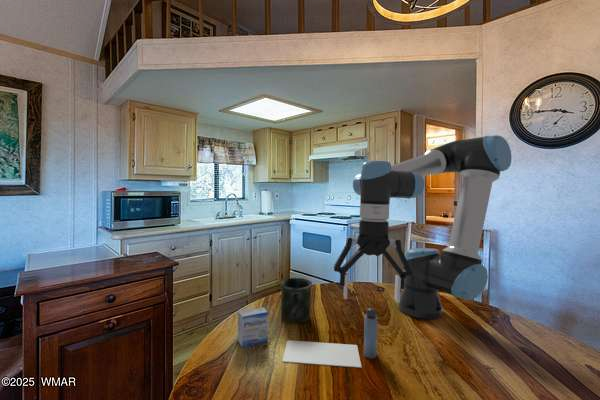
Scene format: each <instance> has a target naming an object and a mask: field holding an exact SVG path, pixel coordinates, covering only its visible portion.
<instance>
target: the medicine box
mask: <svg viewBox="0 0 600 400" xmlns="http://www.w3.org/2000/svg"><path fill="white" fill-rule="evenodd" d="M268 340H269V311H267V309H266V308H265V307H264V306H262V307H257V308H251V309H246V310H240V311H237V341H238V343H239V345H240V346H241V348H245V347H249V346H253V345H257V344H261V343H264V342H268Z"/></svg>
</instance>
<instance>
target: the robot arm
mask: <svg viewBox="0 0 600 400" xmlns="http://www.w3.org/2000/svg"><path fill="white" fill-rule="evenodd" d="M511 164H512V151H511V147H510V145H509V142H508V141H507V140H506V139H505V138H504V137H503V136H501V135H499V134H497V135H484V136H481V137H472V138H466V139H457V140H452V141H450V142H447V143H445V144H442V145H439V146H437V147H433V148H431V149H428V150H427V151H426V152H425V153H424V154H422V155H419V156H415V157H413V158H411V159H410V158H409V159H407V160H404V161H401V162H398V163H396V164H392V163H391V162H390V161H386V160H369V161H368V160H367V161H365V162H363V163H362V166H361V173H358V174H356V176H354V178H353V180H352V188H353V191H354V192H355V194H356V195H359V196H360V199H359V201H360V203H359V218H360V220H359V223H358V224H359V227H358V237H351V236H347V237H346V242H345V245H344V247H343V249H342V251H341V253H340V255H339V256H338V258H337V260H336V261H335V263H334V264H333V271H334V272H337V273H339V284H340V286H342V287H343V300H348V286H349V285H348V283H349V282H348V281H349V273H348V271H349V270H350V269H351V268H352V267H353V266H354V264H355V263H356V262H357V261H358V260H359V259H360V258H362V256H364V254H365V255H367V256H373V255H374V256H377V257H379V256H381V255H383V256H384V257H385V259H386V260H387V261H388V263H389V264H390V265H391V266H392V268H393V269H394V270H395V271H396V272H397V274H394V275H395V276H394V278H395V279H394V297H393V298H394V300H395V302H396V303H397V309H399V311H400V312H401V313H403V314H405V315H407V316H410V317H412V318H417V319H423V320H437V319H439V317H440V318H441V317H442V316H443V306H442V303H441V300H440V295H439V291H441V292H442V293H443V292H444V293H447V294H449V295H450V296H453V297H454V298H455V297H456V298H460V299H464V300H474V299H476V298H478V297H479V295H481V294H482V292H484V290H485V288H486V286H487V282H488V279H489V274H488V270H487V268H486V266H484V265H483V258H482V257H481V256H480V254H479V250H480V244H481V240H482V235H483V230H484V226H485V221H486V217H487V216H486V215H487V212H488V211H487V210H488V205H489V202H490V196H491V191H492V187H493V183H494V182H496V181H498V180H499V178H500V174H501V172H505V171H507V170H508V169H509V168H510V167H511ZM444 173H458V174H459V176H460V177H461V178H462V182H461V186H460V190H459V196H458V200H457V205H456V210H455V214H454V219H453V224H452V228H451V232H450V237H449V243H448V246H447V247H445V248H443V249H442V251H441V252H440V250H439V249H437V248H430V247H429V248H427V247H417V248H414V247H413V248H409V249H407V250H406V251H405V253H404V251H403V249H402V242H401V240H400V239H399V238H394V239H389V228H390V227H389V226H390V225H389V224H390V222H389V218H390V203H391V202H390V201H391V198H393V199H394V198H395V199H415V198H418V197H420V196H421V195H422V194H423V192H424V189H425V180H424V178H425V177H428V176H430V175H433V176H435V175H436V176H437V175H441V174H444ZM387 220H388V221H387ZM356 243H357V245H358V246H359V248H357V249H356V251H355V252H354V253H353V254H352V256H351V257H350V258H349V259H348V260H346V257H347V256H348V254H349V252H350V250H351V248H352V247H353V246H355V244H356ZM390 245H391V247H392V248H394V249H395V252H396V254H397V256H398V259H399V261H400V263H401V265H402V267H403V269H402V268H401V267H400V266H399V264H398V263H397V262H396V261H395V260H394V258H393V257H392V256H391V254H390V253H389V252H388V251H387V248H388V247H389V246H390ZM440 253H441V254H440ZM345 260H346V262H345V263H344V261H345ZM343 263H344V264H343ZM342 264H343V265H342ZM401 290H402V291H401ZM441 315H442V316H441ZM436 318H437V319H436Z"/></svg>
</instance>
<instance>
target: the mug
mask: <svg viewBox="0 0 600 400" xmlns="http://www.w3.org/2000/svg"><path fill="white" fill-rule="evenodd" d="M280 285H281V307H280V308H281V310H280V311H281V313H280V315H281V318H282V319H283V320H284V321H285V322H287V323H291V324H301V323H305V322H307V321H308V320H309V319H310V318H311V299H312V297H311V296H312V295H311V294H312V286H313V282H312V281H311V280H309V279H306V278H303V277H290V278H284V279H283V280H282V281H281V282H280Z"/></svg>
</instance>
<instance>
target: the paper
mask: <svg viewBox="0 0 600 400" xmlns="http://www.w3.org/2000/svg"><path fill="white" fill-rule="evenodd" d="M282 363H292V364H305V365H306V364H307V365H319V366H333V367H334V366H336V367H347V368H359V369H362V368H363V367H362V363H361V357H360V353H359V348H358V345H357V344H349V343H347V344H345V343H335V342H334V343H332V342H318V341H306V340H305V341H303V340H290V339H288V340H287V341H286V345H285V349H284V353H283V356H282Z"/></svg>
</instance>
